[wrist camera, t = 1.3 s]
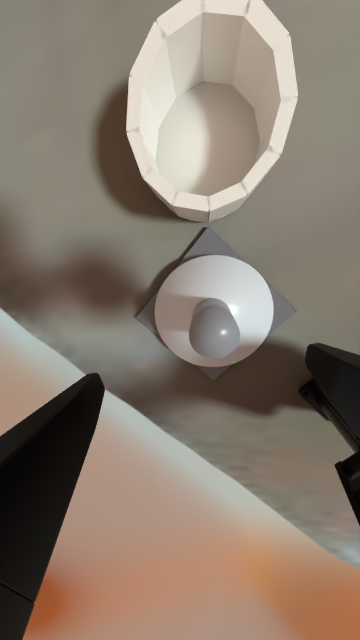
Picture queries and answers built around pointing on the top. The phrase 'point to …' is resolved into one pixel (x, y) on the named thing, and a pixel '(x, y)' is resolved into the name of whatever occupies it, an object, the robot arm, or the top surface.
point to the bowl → (211, 104)
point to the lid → (214, 311)
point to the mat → (216, 246)
